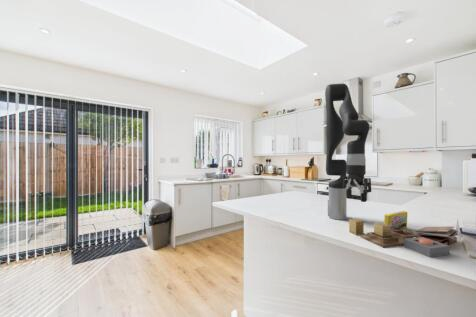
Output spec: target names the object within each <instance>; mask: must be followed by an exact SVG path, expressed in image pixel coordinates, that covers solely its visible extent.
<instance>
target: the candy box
mask: <svg viewBox="0 0 476 317" xmlns="http://www.w3.org/2000/svg"><path fill="white" fill-rule="evenodd" d="M383 219H384V222H383V223H385V224H388V225H391V230H400V229H403V230H406V229H407V228H408V211H404V210H402V211H398V212H392V213H388V214H386V213H385V214H384V217H383Z"/></svg>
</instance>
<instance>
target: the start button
mask: <svg viewBox="0 0 476 317" xmlns="http://www.w3.org/2000/svg"><path fill="white" fill-rule="evenodd" d="M426 238H427V237H424V238H419V243H422V244H425V245H428V246H429V245H433V241H434V240H433V239H430V238H427V239H426ZM432 240H433V241H432Z"/></svg>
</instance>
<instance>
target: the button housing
mask: <svg viewBox="0 0 476 317" xmlns="http://www.w3.org/2000/svg"><path fill="white" fill-rule="evenodd" d="M419 238H426V239H428V238H427V237H424V236H420V237H416V238H406V239H404V245H403V248H406V249H409V250H412V251H413V252H416V253H419V254H421V255H424V256H426V257H428V258H434V257H435V258H436V257H442V256H449V255H450V254H451V253H450V252H451V249H450V245H448V244H446V243H442V242H440V241H436V240H433V239H431V240H432V241H433V245H429V246H428V245H425V244H422V243H419Z"/></svg>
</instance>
